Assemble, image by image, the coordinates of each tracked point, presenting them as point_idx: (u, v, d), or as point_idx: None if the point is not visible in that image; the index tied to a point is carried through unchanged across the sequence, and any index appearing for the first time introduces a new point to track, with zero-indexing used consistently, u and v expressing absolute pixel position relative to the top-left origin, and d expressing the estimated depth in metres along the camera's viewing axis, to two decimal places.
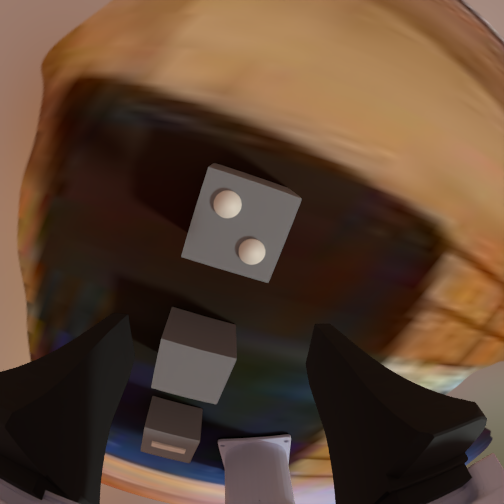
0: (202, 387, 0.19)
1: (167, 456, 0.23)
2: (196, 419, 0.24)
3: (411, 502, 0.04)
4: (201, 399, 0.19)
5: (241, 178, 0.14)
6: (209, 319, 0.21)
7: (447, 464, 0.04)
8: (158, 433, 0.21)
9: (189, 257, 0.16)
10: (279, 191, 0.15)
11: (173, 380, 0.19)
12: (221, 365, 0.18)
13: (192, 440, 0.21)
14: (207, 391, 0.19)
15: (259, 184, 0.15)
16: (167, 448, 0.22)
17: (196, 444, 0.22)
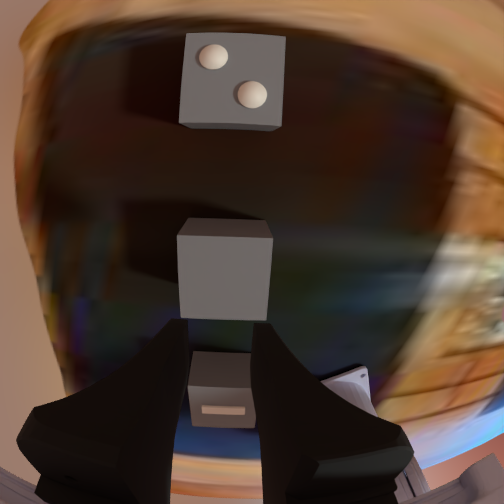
0: (242, 296, 0.16)
1: (225, 425, 0.20)
2: None
3: None
4: (245, 317, 0.17)
5: (220, 33, 0.12)
6: (233, 220, 0.19)
7: (367, 491, 0.04)
8: (206, 391, 0.19)
9: (187, 120, 0.13)
10: (261, 35, 0.12)
11: (204, 296, 0.16)
12: (257, 253, 0.16)
13: (250, 389, 0.19)
14: (250, 302, 0.17)
15: (239, 34, 0.12)
16: (222, 410, 0.19)
17: None
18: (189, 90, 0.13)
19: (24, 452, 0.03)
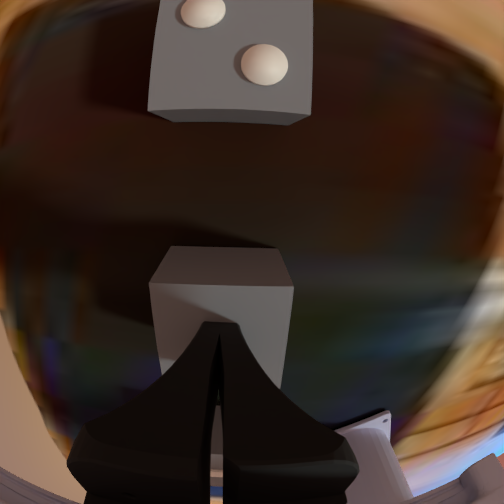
0: None
1: None
2: None
3: None
4: None
5: None
6: (233, 249, 0.13)
7: (312, 502, 0.04)
8: None
9: (161, 106, 0.08)
10: None
11: None
12: (270, 308, 0.10)
13: None
14: None
15: None
16: (222, 474, 0.14)
17: None
18: (164, 60, 0.07)
19: (75, 473, 0.03)
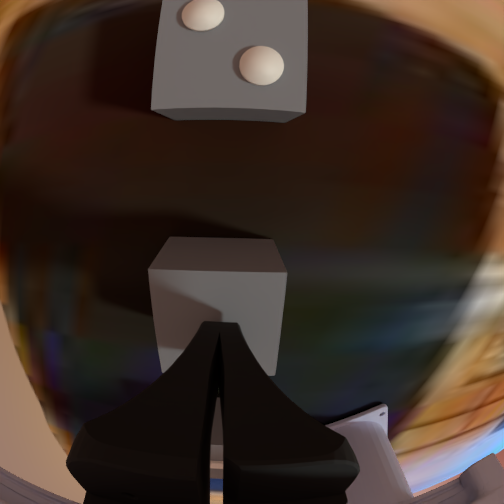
0: None
1: None
2: None
3: None
4: None
5: None
6: (229, 239, 0.14)
7: (312, 502, 0.04)
8: None
9: (164, 105, 0.08)
10: None
11: None
12: (264, 293, 0.11)
13: None
14: (254, 355, 0.12)
15: None
16: (221, 465, 0.15)
17: None
18: (166, 61, 0.08)
19: (74, 472, 0.03)
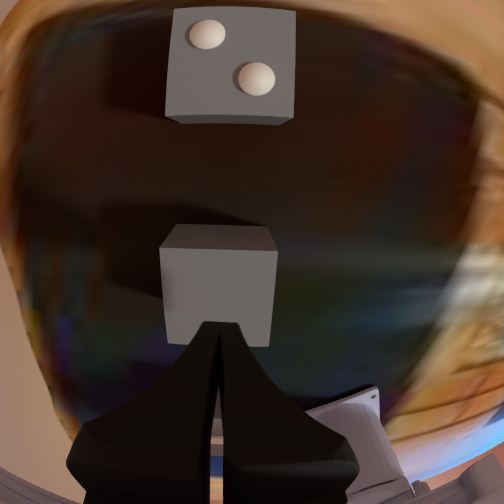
0: (240, 320, 0.13)
1: None
2: None
3: None
4: None
5: (216, 7, 0.09)
6: (229, 226, 0.16)
7: (312, 502, 0.04)
8: None
9: (176, 112, 0.10)
10: (265, 9, 0.09)
11: (194, 319, 0.13)
12: (258, 269, 0.13)
13: None
14: (250, 326, 0.14)
15: (239, 7, 0.09)
16: (221, 440, 0.17)
17: None
18: (177, 75, 0.10)
19: (74, 472, 0.03)
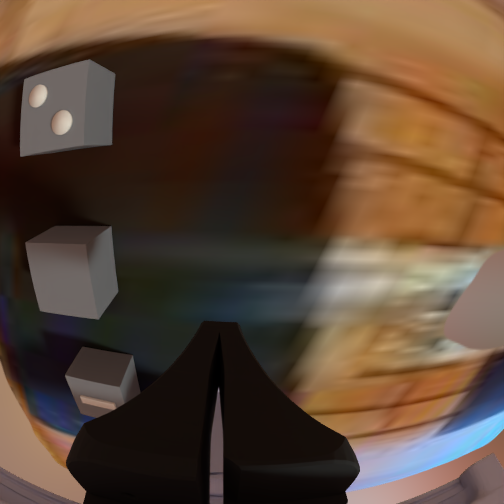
0: (75, 296, 0.16)
1: None
2: (122, 366, 0.21)
3: None
4: (82, 315, 0.16)
5: (44, 73, 0.11)
6: (84, 226, 0.18)
7: (312, 502, 0.04)
8: (79, 382, 0.18)
9: (24, 153, 0.13)
10: (71, 65, 0.11)
11: (50, 293, 0.16)
12: (77, 257, 0.15)
13: (112, 387, 0.19)
14: (82, 301, 0.16)
15: (56, 69, 0.11)
16: (96, 402, 0.19)
17: (119, 393, 0.19)
18: (24, 128, 0.12)
19: (74, 472, 0.03)
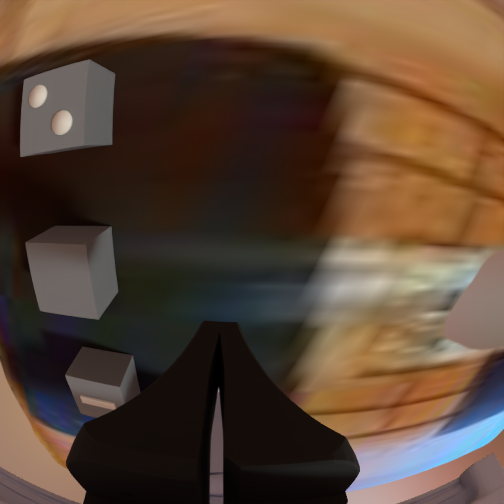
0: (75, 296, 0.16)
1: None
2: (122, 366, 0.21)
3: None
4: (82, 315, 0.16)
5: (44, 73, 0.11)
6: (85, 226, 0.18)
7: (312, 502, 0.04)
8: (79, 382, 0.18)
9: (25, 154, 0.13)
10: (71, 65, 0.11)
11: (50, 293, 0.16)
12: (77, 258, 0.15)
13: (112, 387, 0.19)
14: (82, 301, 0.16)
15: (56, 69, 0.11)
16: (96, 402, 0.19)
17: (119, 393, 0.19)
18: (25, 128, 0.12)
19: (74, 472, 0.03)
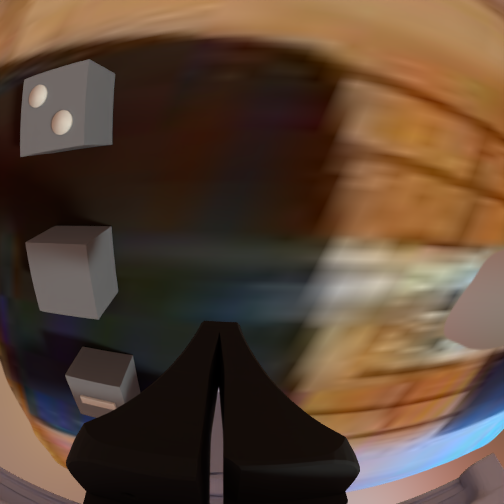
0: (75, 296, 0.16)
1: None
2: (122, 366, 0.21)
3: None
4: (82, 315, 0.16)
5: (44, 73, 0.11)
6: (85, 226, 0.18)
7: (312, 502, 0.04)
8: (79, 382, 0.18)
9: (25, 154, 0.13)
10: (71, 65, 0.11)
11: (50, 293, 0.16)
12: (77, 258, 0.15)
13: (112, 387, 0.19)
14: (82, 301, 0.16)
15: (56, 69, 0.11)
16: (96, 402, 0.19)
17: (119, 393, 0.19)
18: (25, 128, 0.12)
19: (74, 472, 0.03)
